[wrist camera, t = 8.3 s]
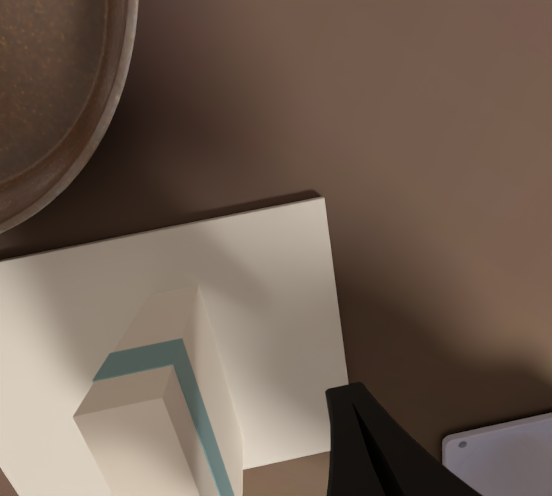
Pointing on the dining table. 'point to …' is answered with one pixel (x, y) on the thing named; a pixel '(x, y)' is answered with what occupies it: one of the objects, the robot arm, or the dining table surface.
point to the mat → (222, 316)
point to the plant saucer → (56, 93)
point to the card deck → (165, 406)
